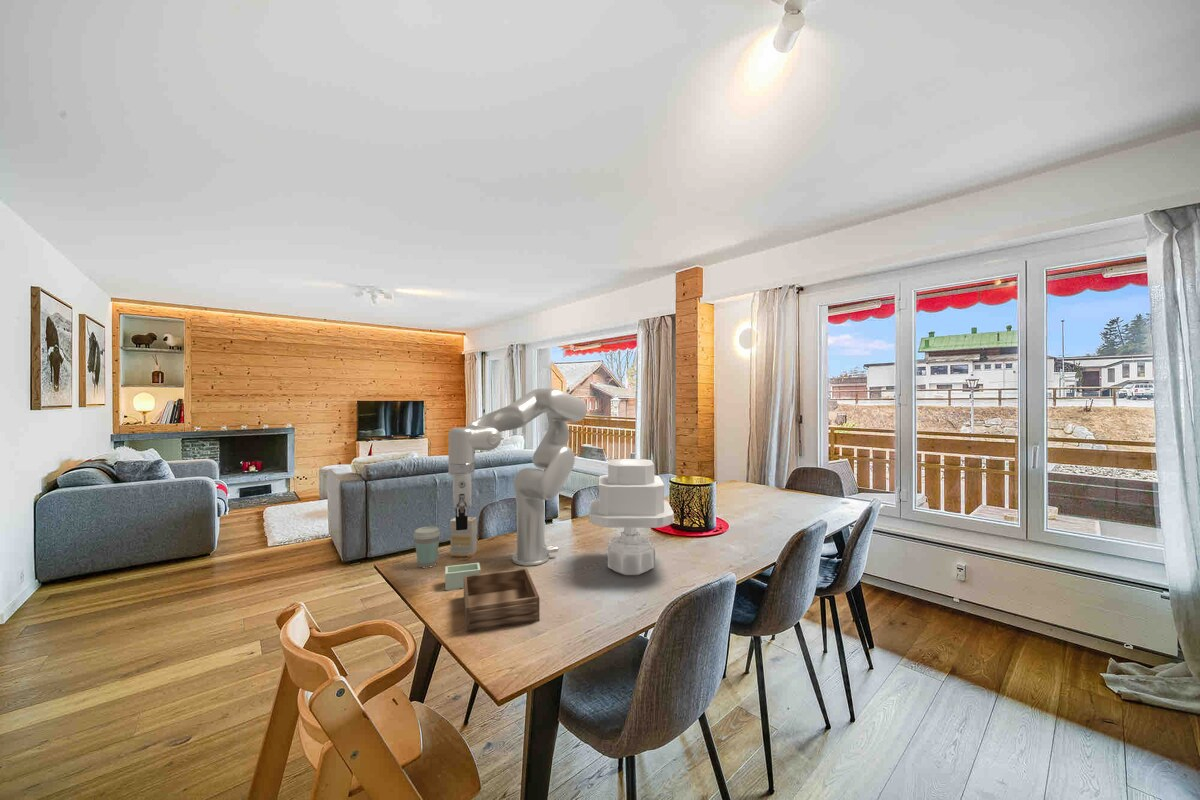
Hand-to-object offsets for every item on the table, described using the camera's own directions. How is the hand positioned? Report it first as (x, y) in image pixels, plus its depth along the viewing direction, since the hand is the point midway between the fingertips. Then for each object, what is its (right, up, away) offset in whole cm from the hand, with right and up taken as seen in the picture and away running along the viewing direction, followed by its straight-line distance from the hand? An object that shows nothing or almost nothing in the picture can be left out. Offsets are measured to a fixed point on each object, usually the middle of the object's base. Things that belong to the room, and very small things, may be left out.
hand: (461, 525), depth 138 cm
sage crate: (0, -18, +1) cm, 18 cm away
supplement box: (-7, -18, +26) cm, 32 cm away
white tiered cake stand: (+52, -18, +13) cm, 56 cm away
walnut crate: (+15, -18, -15) cm, 28 cm away
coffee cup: (-16, -18, +16) cm, 29 cm away
